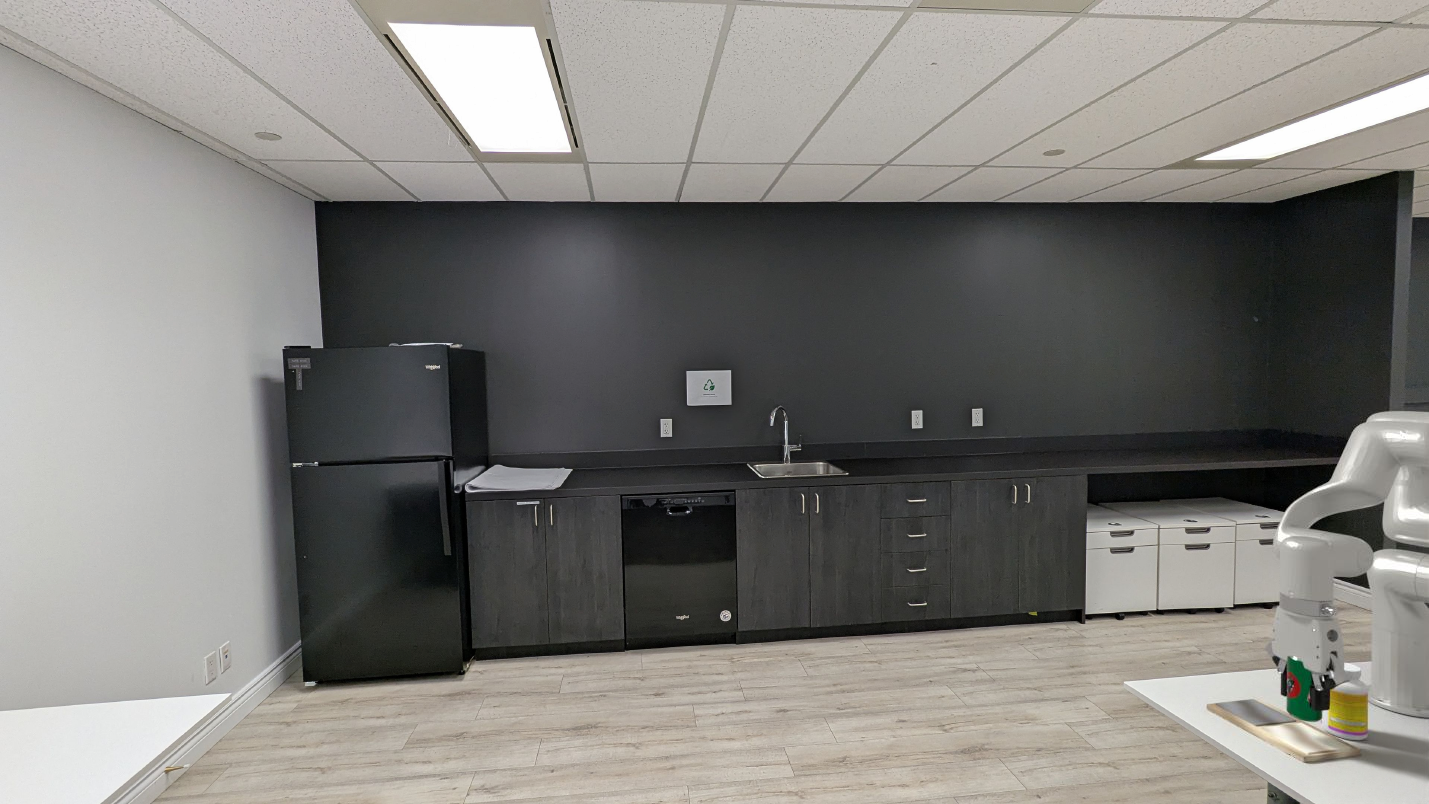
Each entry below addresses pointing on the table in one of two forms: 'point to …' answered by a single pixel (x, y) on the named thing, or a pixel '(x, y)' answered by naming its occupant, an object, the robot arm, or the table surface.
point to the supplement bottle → (1348, 707)
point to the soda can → (1300, 691)
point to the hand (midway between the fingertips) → (1304, 701)
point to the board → (1283, 730)
